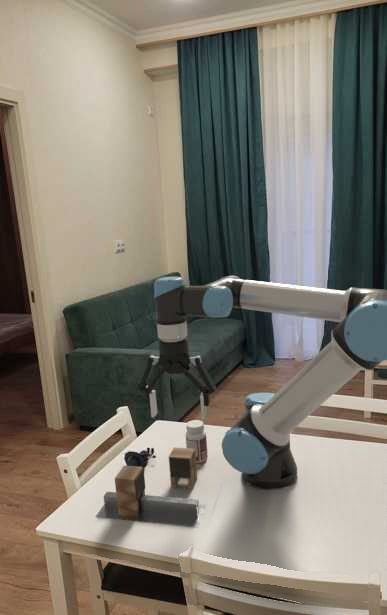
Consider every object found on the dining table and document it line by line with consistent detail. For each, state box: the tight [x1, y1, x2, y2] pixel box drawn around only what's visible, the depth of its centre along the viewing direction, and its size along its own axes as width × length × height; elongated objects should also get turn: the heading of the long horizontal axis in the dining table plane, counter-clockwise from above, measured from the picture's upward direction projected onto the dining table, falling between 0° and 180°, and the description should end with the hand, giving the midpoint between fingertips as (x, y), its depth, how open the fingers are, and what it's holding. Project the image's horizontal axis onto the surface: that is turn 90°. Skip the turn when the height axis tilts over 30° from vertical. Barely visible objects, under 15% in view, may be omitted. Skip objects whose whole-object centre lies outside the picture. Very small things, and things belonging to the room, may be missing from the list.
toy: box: [124, 447, 157, 469], centre depth 144 cm, size 8×7×15 cm
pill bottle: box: [185, 419, 208, 464], centre depth 144 cm, size 6×6×11 cm
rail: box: [95, 491, 207, 529], centre depth 120 cm, size 26×9×4 cm, turn 76°
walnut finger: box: [168, 447, 198, 490], centre depth 130 cm, size 5×6×10 cm
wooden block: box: [114, 465, 146, 517], centre depth 120 cm, size 5×6×10 cm
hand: (179, 416), depth 127 cm, fingers open, 13 cm apart
